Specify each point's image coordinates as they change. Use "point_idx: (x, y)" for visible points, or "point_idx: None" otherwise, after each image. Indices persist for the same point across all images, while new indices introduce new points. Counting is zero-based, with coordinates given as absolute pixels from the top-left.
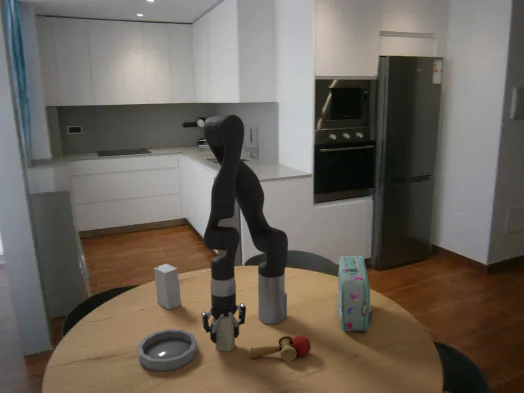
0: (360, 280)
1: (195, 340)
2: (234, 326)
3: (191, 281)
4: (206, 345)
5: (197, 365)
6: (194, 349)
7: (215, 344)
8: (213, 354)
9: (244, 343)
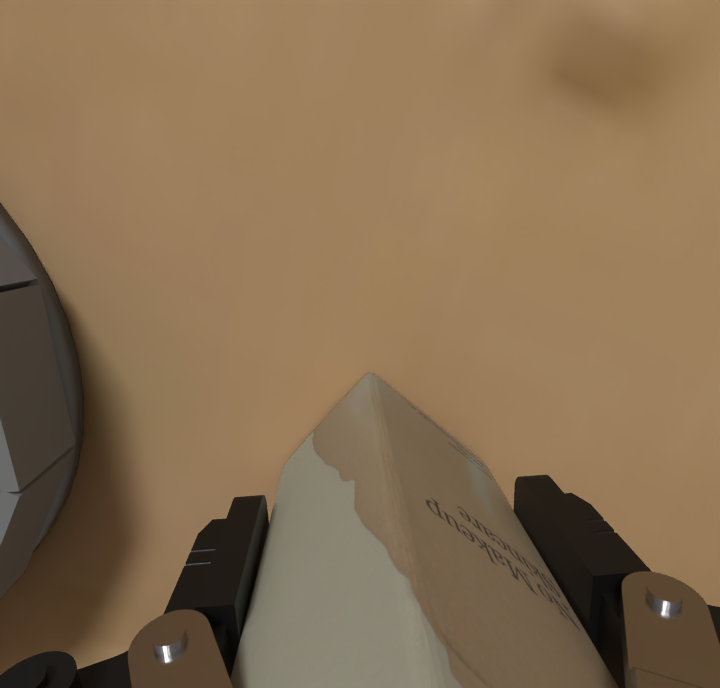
0: None
1: (3, 468)
2: (593, 631)
3: None
4: (203, 373)
5: (73, 635)
6: (8, 564)
7: (275, 499)
8: None
9: (577, 471)
